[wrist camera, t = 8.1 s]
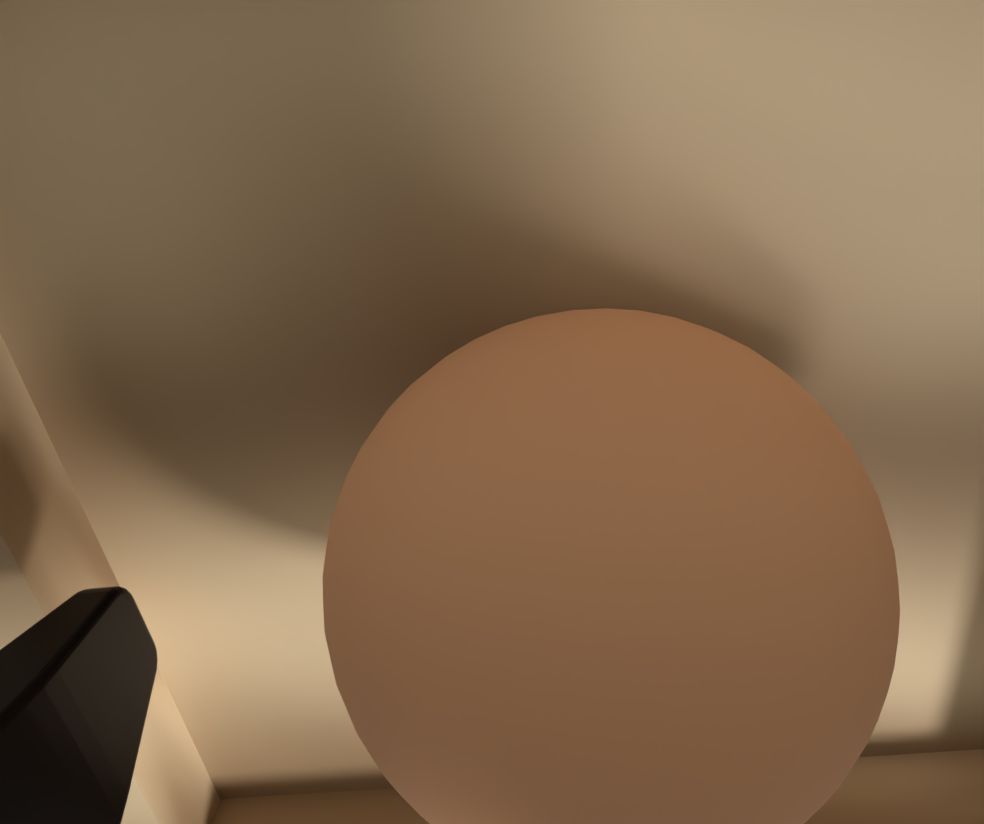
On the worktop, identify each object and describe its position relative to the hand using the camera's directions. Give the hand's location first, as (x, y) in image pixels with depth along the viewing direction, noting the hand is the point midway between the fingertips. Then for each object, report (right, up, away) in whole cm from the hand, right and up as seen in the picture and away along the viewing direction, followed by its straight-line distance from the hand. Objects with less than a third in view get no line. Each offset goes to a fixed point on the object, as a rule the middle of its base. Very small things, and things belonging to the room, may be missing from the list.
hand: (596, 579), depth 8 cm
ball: (0, +1, +2) cm, 2 cm away
